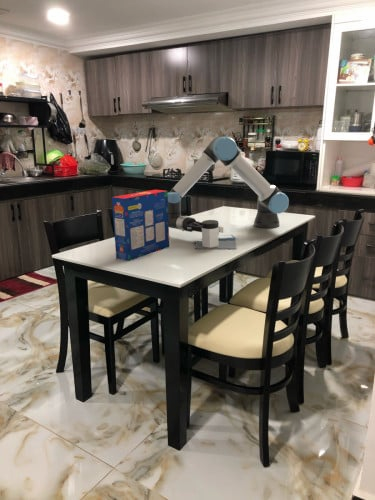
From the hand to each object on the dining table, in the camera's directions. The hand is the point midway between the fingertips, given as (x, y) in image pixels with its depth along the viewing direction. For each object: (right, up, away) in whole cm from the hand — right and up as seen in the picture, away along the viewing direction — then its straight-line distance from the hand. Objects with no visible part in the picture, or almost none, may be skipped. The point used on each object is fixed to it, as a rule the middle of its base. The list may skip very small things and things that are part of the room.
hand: (220, 230), depth 190 cm
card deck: (+4, -4, +15) cm, 17 cm away
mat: (-2, -7, +4) cm, 9 cm away
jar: (-5, -7, +2) cm, 9 cm away
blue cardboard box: (-37, -11, -5) cm, 39 cm away
